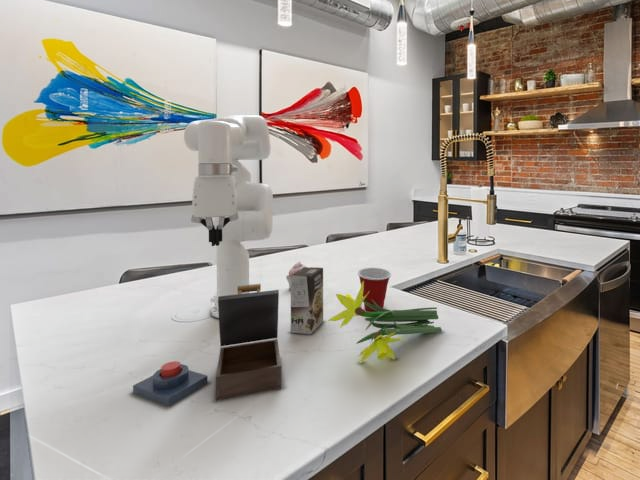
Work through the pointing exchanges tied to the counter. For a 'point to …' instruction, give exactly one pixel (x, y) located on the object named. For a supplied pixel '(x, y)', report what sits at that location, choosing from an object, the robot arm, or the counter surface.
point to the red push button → (170, 369)
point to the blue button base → (170, 386)
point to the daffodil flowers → (385, 315)
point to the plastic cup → (374, 286)
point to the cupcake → (293, 270)
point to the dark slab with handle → (248, 315)
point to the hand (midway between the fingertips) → (215, 244)
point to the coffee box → (306, 300)
